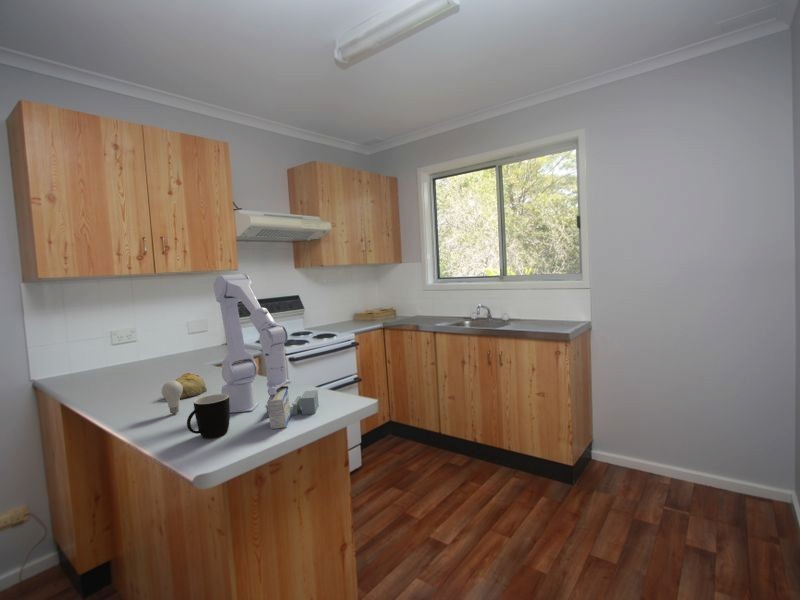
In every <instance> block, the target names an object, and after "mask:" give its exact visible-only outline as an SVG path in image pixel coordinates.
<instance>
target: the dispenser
mask: <svg viewBox="0 0 800 600" xmlns="http://www.w3.org/2000/svg"><path fill="white" fill-rule="evenodd" d="M291 405H292V406H290V412H291V415H290V417H291V416H298V414H299V412H300V411H301V415H312V414H313V415H314V414H316V413H317V410H318V408H319V392H318V390H317V389H316V390H315V389H313V390H305V391H304V393H302V396H301V395H298V396H297V397H296V398H295V400H294V401H293V402H292V403H291ZM264 407H265V408H266V417H267V418H269V412H268V405H267V404H265V405H264Z"/></svg>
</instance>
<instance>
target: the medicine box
mask: <svg viewBox="0 0 800 600" xmlns="http://www.w3.org/2000/svg"><path fill="white" fill-rule="evenodd" d="M266 403H267V404H266V405H268V412H269V417H268V419H269V424H270V428H271V429H272V430H274V429H283V428H288V427H287V426H288V423H289V421H290V418H291V416H292V415H291V412H290V407H291V404H290V398H289V388H288V389H287V388H283V389H277V391H276V395H269V397H268V400H267V402H266ZM290 415H291V416H290Z"/></svg>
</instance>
